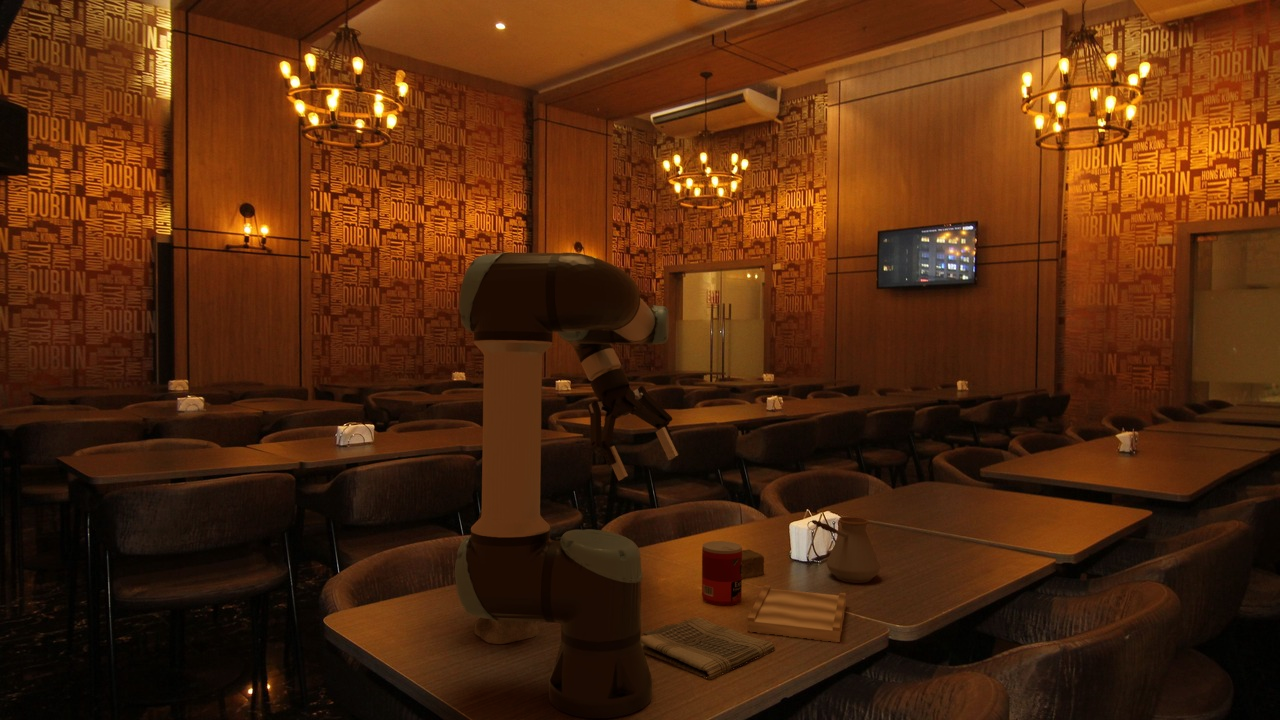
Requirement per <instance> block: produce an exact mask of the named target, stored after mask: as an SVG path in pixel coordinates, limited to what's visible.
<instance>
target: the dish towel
mask: <svg viewBox="0 0 1280 720" xmlns="http://www.w3.org/2000/svg"><path fill="white" fill-rule="evenodd" d="M642 634H643V635H641V645H642V648H643V651H644V654H646V655H648V656H651V657H653V656H654V658H656V659H658V658H659V660H660V661H663V660H664V661H663V662H666V663H668V662H669V663H668V664H671V663H672V664H671V665H673V664H674V665H673V666H675V667H678V668H680V669H682V670H685V669H686V670H685V671H688V672H690V671H691V672H690V673H692V672H693V673H692V674H695V675H697V674H698V675H697V676H699V675H700V676H699V677H701V676H703V677H702V678H704V677H705V678H706V677H707V679H706V680H712V678H713V679H715V678H717V677H719V676H718V675H720V676H721V674H722V673H724V674H726V673H728V672H727V671H729V670H731V669H733V668H735V669H737V668H736V667H738V666H740V665H742V664H744V665H746V664H747V663H746V662H748V663H750V662H749V661H751V660H753V659H755V658H757V657H760V656H762V655H764V654H766V655H768V654H770V653H771V652H770V651H772V650H774V649H775V650H776V647H775V645H774V643H773V642H772V641H768V640H764V639H760V638H755V637H753V636H750V635H747V634H744V633H741V632H739V631H737V630H734V629H732V628H729V627H727V626H723V625H720V624H717V623H714V622H711V621H710V620H708V619H706V618H705V617H690V618H689V619H684V620H682V621H680V622H677V623H673V624H671V623H670V624H667V625H665V626H662V627H658V628H655V629H651V630H647V631H646V630H645V631H643V632H642ZM775 650H774V651H775ZM769 652H770V653H769ZM772 652H773V651H772ZM767 653H768V654H767ZM764 656H765V655H764ZM762 657H763V656H762ZM760 658H761V657H760ZM757 659H758V658H757ZM755 660H756V659H755ZM753 661H754V660H753ZM751 662H752V661H751ZM745 663H746V664H745ZM742 666H743V665H742ZM740 667H741V666H740ZM738 668H739V667H738ZM733 670H734V669H733ZM731 671H732V670H731ZM725 672H726V673H725ZM729 672H730V671H729ZM722 675H723V674H722ZM716 676H717V677H716ZM714 677H715V678H714ZM705 678H704V679H705Z"/></svg>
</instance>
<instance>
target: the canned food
mask: <svg viewBox="0 0 1280 720" xmlns="http://www.w3.org/2000/svg"><path fill="white" fill-rule="evenodd" d="M701 550H702V552H701V596H702V600H703V601H704V602H705V601H706V602H705V603H707V604H709V603H710V604H709V605H714V606H722V607H724V606H725V607H727V605H729V606H734V604H735V605H738V604H739V603H740V602H741V600H742V590H743V587H742V585H743V584H742V580H743V579H742V550H743V548H742V545H741V544H739V543H736V542H733V541H726V540H714V541H707V542H704V543H702V549H701Z"/></svg>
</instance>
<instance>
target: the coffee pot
mask: <svg viewBox="0 0 1280 720" xmlns="http://www.w3.org/2000/svg"><path fill="white" fill-rule="evenodd" d="M838 522H839V523H840V525H841V530H838V529H836V528H834V527H832V526H831V525H829V524H827V523H823V522H822V521H820V520H816V519H812V520H811V521H808V523H807V528H808V530H811V531H813V530H816V529H817V528H822V530H825V531H826V532H830V533H833V534H836V535H838V536H837V539H836V540H835V543H834V545H833V547H832V550H831V551H830V553H829V556H828V559H827V561H826V566H827V569H828V570H829V571H830V572H831V574H832V575H834V576H835V578H836V579H837V580H839V581H841V582H846V583H852V584H853V583H856V584H857V583H858V584H859V583H860V584H862V583H863V584H864V583H868V582H870V581H872V579H873V578H875V577H876V576H877V575H878V574H879V572H880V570H881V565H880V563H879V560H878V558H877V556H876V552H875V550H874V548H873V546H872V542H871V540H870V538H869V536H868V533H867V531H866V529H867V527H868V526H867V525H868V524H869V523H870V521H869V519H866V518H863V517H858V516H857V517H855V516H846V517H844V516H843V517H839V519H838ZM810 523H812V524H814V525H815V527H814V528H810V527H809V524H810Z"/></svg>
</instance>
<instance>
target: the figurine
mask: <svg viewBox="0 0 1280 720" xmlns="http://www.w3.org/2000/svg"><path fill="white" fill-rule="evenodd" d="M481 515H482V509H481V510H480V512H479V515H478V520H479V519H480V518H481ZM478 520H477V521H478ZM474 634H475V635H476V636H477V637H479V638H480V639H481V640H483V641H484V642H485V643H487V644H493V645H494V644H495V645H504V644H509V643H513V642H520V641H523V640H526V639H531V638H534V637H535V636H538V635H539V627H538V625H537V624H536V623H535V622H530V621H512V620H501V621H494V620H492V619H487V618H479V617H478V619H477V620H476V621H475V625H474Z"/></svg>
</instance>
